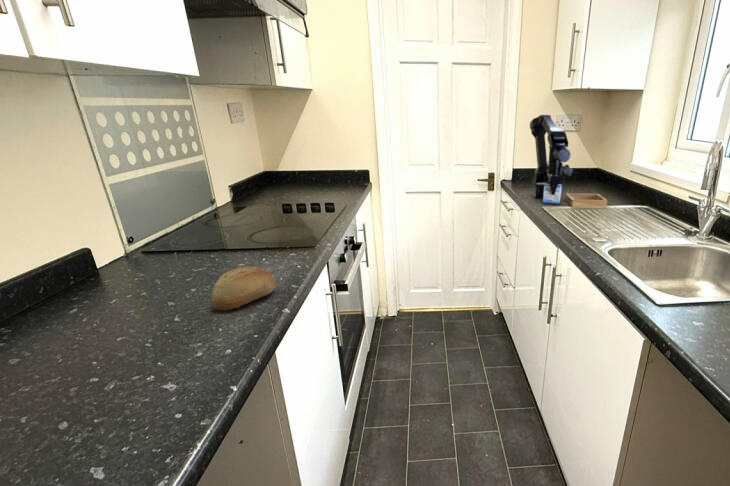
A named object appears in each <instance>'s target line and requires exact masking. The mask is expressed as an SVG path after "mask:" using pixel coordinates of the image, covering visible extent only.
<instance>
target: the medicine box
mask: <svg viewBox="0 0 730 486" xmlns="http://www.w3.org/2000/svg"><path fill="white" fill-rule="evenodd" d="M562 188H563V184H562V183H559V184H558V186H557V189H556V192H555V195H552V193H551V189H550V185H549V184H547V183H545V185H544V194H543V198H542V203H543V204H555V205H556V204H558V205H560V203H561V197H562Z"/></svg>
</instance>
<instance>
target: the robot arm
mask: <svg viewBox="0 0 730 486" xmlns="http://www.w3.org/2000/svg"><path fill="white" fill-rule="evenodd" d="M529 129H530V132H531V135H532V136H533V138H534V141H535V152H536V163H537V167H536V169H535V171H534V175H533V177H532V179H531V185H532V186H534V187H535V188H534V189H535V191H534V194H533V198H534V199H543V194H544V185H545V183H547V184H549V185H550V189H551V193H552V195H555V192H556V189H557V186H558V184H561V183H562V182H564V181H565V176H564V175H566V176H568V177H571V176H572V174H573V172H574V169H573V168H571V167H570V165H569V164H567V162H568V161H570V158H571V154H572V153H571V151H570V150H569V149H568V148H569V140H568V136H567V133H566V131H565V130H564V129H562V128H559V126H557V124H556V123H555V122H554V120H553V119H552V116H551V114H548V113H547V114H540V115H539V116H537V117H535V118H532V120H531V121H530V122H529ZM546 134H547V138H546ZM546 139H547V143H548V144H549V146H548V149H549V152H548V157H547V148H546V147H547V145H546ZM563 163H565V164H563ZM563 174H564V175H563Z"/></svg>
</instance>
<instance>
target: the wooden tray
mask: <svg viewBox="0 0 730 486" xmlns="http://www.w3.org/2000/svg"><path fill="white" fill-rule="evenodd" d="M565 202H567V204H568V205H569V206H570V207H572V208H607V206H608V200H607V199H606V198H605V197H603V196H602V195H601V194H599V193H565Z"/></svg>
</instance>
